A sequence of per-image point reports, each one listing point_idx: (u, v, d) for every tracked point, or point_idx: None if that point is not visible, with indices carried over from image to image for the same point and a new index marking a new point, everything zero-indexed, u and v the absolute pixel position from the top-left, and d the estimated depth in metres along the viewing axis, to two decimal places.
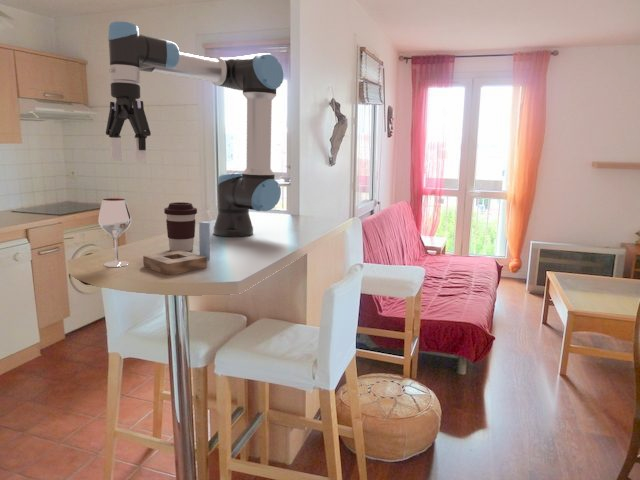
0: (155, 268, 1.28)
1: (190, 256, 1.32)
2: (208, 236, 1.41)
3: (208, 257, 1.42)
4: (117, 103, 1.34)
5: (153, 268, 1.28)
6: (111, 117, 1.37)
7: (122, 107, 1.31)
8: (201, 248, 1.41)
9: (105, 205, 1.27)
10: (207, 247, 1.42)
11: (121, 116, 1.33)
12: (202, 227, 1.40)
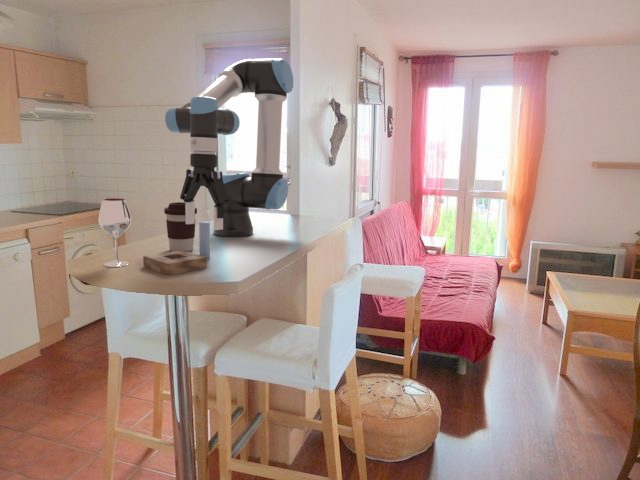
0: (155, 268, 1.28)
1: (190, 256, 1.32)
2: (208, 236, 1.41)
3: (208, 257, 1.42)
4: (195, 171, 1.39)
5: (153, 268, 1.28)
6: (187, 183, 1.43)
7: (201, 176, 1.36)
8: (201, 248, 1.41)
9: (105, 205, 1.27)
10: (207, 247, 1.42)
11: (199, 184, 1.39)
12: (202, 227, 1.40)
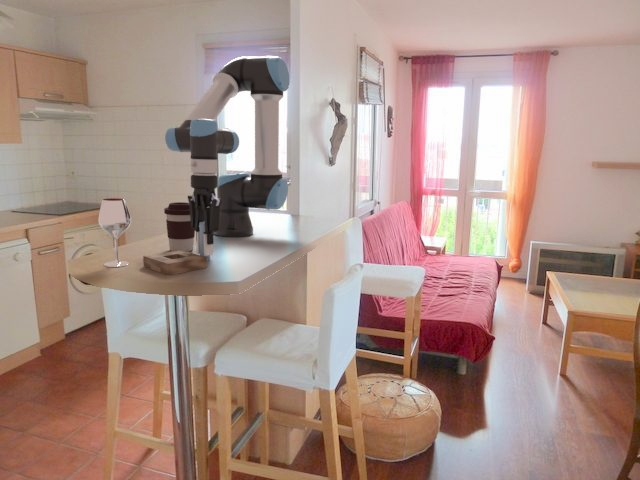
0: (155, 268, 1.28)
1: (190, 256, 1.32)
2: None
3: (208, 257, 1.42)
4: (195, 191, 1.41)
5: (153, 268, 1.28)
6: (192, 209, 1.43)
7: (201, 198, 1.38)
8: (201, 248, 1.41)
9: (105, 205, 1.27)
10: None
11: (199, 205, 1.40)
12: (203, 227, 1.40)
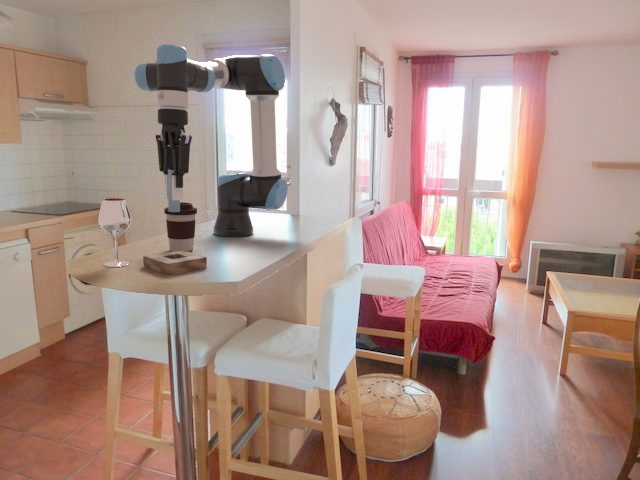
0: (155, 268, 1.28)
1: (190, 256, 1.32)
2: None
3: (178, 209, 1.29)
4: (163, 129, 1.27)
5: (153, 268, 1.28)
6: (161, 150, 1.29)
7: (169, 135, 1.24)
8: (170, 198, 1.28)
9: (105, 205, 1.27)
10: None
11: (167, 143, 1.26)
12: (171, 175, 1.26)
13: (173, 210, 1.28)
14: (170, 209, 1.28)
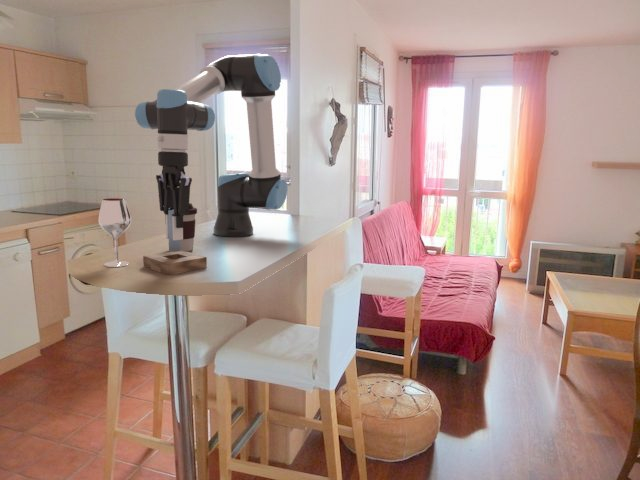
0: (155, 268, 1.28)
1: (190, 256, 1.32)
2: None
3: (178, 248, 1.31)
4: (163, 170, 1.29)
5: (153, 268, 1.28)
6: (161, 190, 1.30)
7: (170, 177, 1.25)
8: (170, 238, 1.29)
9: (105, 205, 1.27)
10: None
11: (168, 184, 1.28)
12: None
13: (174, 250, 1.30)
14: (170, 248, 1.30)
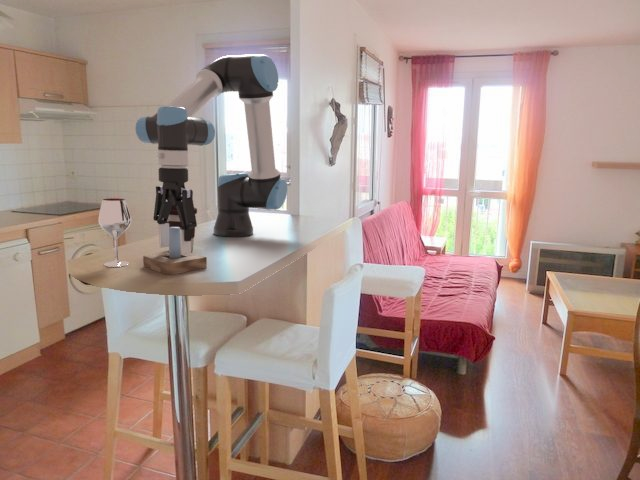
0: (155, 268, 1.28)
1: (190, 256, 1.32)
2: (178, 242, 1.30)
3: None
4: (164, 186, 1.29)
5: (153, 268, 1.28)
6: (158, 201, 1.32)
7: (170, 193, 1.26)
8: (171, 255, 1.30)
9: (105, 205, 1.27)
10: (177, 254, 1.31)
11: (168, 200, 1.29)
12: (172, 233, 1.29)
13: None
14: None
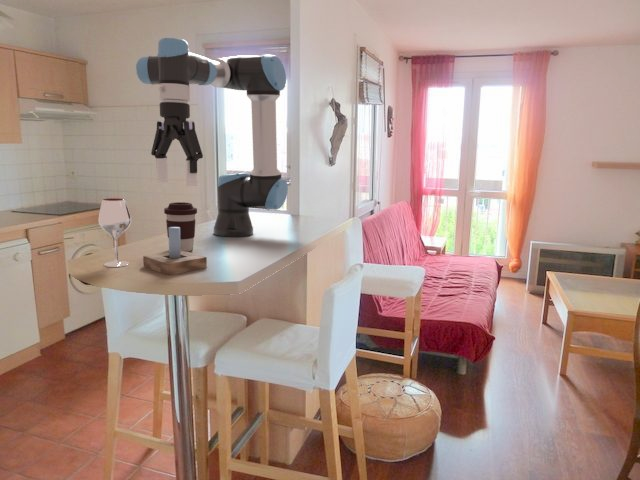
0: (155, 268, 1.28)
1: (190, 256, 1.32)
2: (178, 243, 1.30)
3: None
4: (165, 123, 1.27)
5: (153, 268, 1.28)
6: (158, 137, 1.30)
7: (172, 128, 1.24)
8: (171, 255, 1.30)
9: (105, 205, 1.27)
10: (177, 254, 1.31)
11: (170, 137, 1.27)
12: (172, 233, 1.29)
13: None
14: None
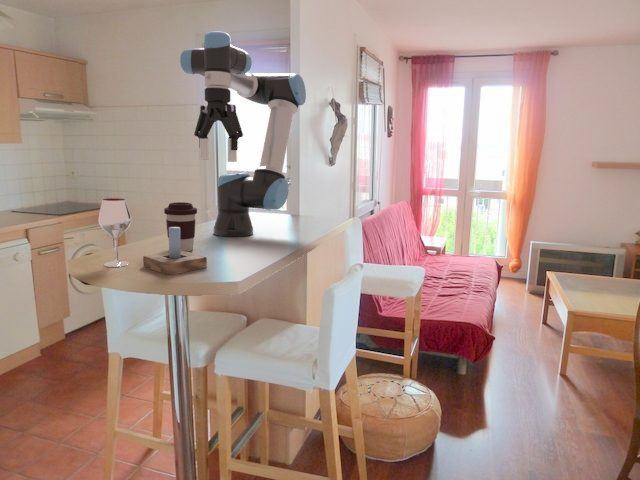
0: (155, 268, 1.28)
1: (190, 256, 1.32)
2: (178, 242, 1.30)
3: None
4: (209, 107, 1.44)
5: (153, 268, 1.28)
6: (201, 119, 1.48)
7: (215, 110, 1.41)
8: (171, 255, 1.30)
9: (105, 205, 1.27)
10: (177, 254, 1.31)
11: (213, 119, 1.44)
12: (172, 233, 1.29)
13: None
14: None
